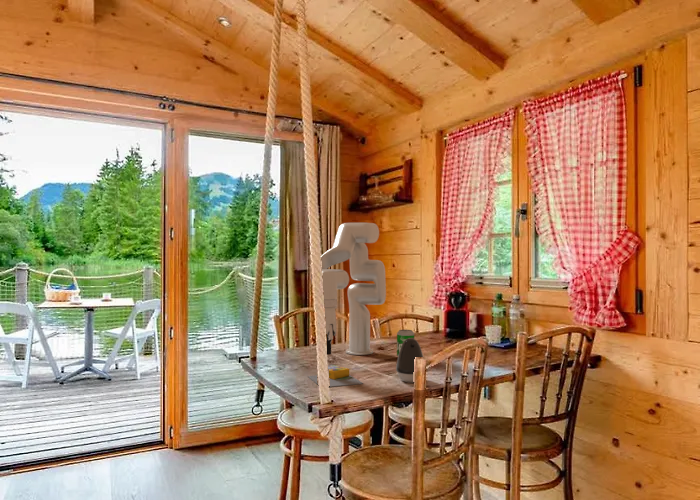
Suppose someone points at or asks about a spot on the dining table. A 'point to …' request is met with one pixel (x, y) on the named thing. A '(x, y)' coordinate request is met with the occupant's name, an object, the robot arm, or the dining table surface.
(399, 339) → the soda can
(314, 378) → the mat
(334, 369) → the crayon box
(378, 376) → the dining table surface
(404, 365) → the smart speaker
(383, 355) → the dining table surface
